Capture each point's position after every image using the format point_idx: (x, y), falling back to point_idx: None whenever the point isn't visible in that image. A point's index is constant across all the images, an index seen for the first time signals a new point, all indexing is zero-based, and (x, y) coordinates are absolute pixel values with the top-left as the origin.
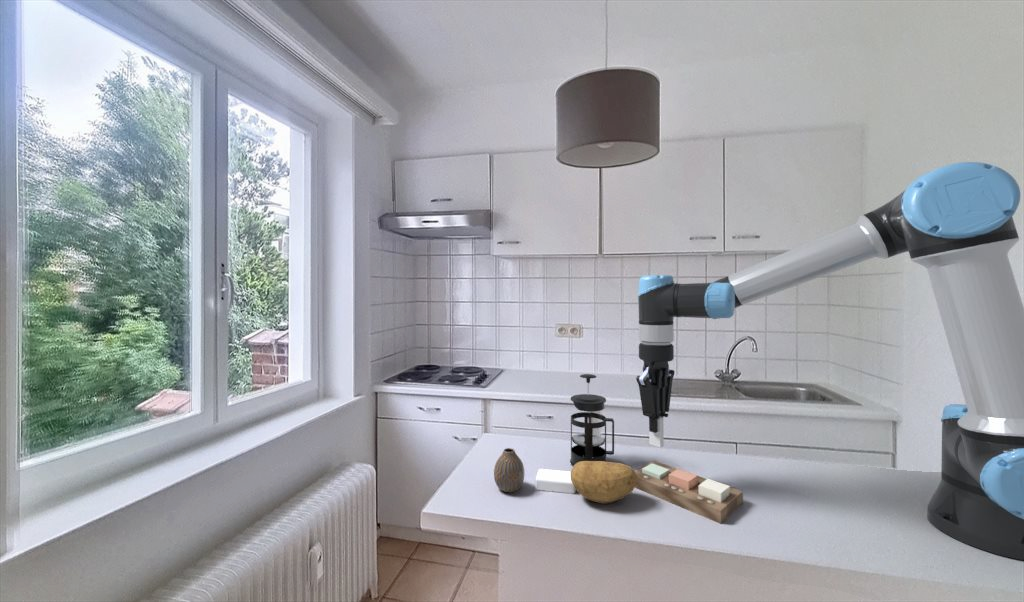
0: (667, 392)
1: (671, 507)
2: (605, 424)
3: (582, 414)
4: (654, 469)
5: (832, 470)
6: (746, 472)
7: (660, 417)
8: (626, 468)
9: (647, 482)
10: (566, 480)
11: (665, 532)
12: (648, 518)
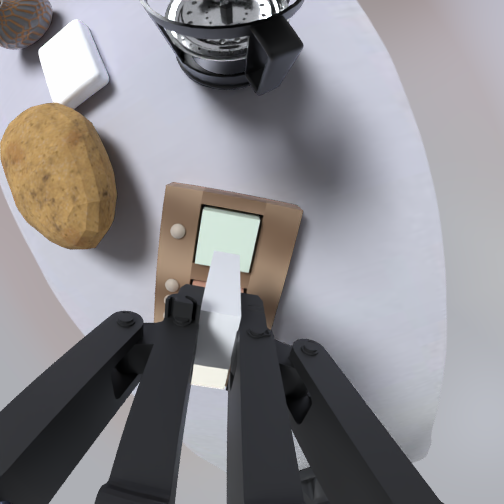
0: (319, 476)
1: (146, 290)
2: (236, 36)
3: None
4: (221, 240)
5: (419, 407)
6: (382, 352)
7: (218, 360)
8: (58, 236)
9: (159, 240)
10: (51, 94)
11: (75, 300)
12: (85, 268)
